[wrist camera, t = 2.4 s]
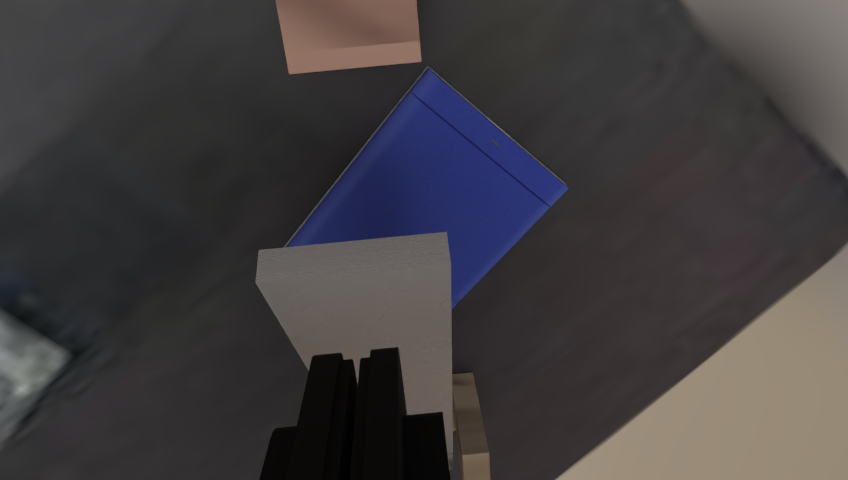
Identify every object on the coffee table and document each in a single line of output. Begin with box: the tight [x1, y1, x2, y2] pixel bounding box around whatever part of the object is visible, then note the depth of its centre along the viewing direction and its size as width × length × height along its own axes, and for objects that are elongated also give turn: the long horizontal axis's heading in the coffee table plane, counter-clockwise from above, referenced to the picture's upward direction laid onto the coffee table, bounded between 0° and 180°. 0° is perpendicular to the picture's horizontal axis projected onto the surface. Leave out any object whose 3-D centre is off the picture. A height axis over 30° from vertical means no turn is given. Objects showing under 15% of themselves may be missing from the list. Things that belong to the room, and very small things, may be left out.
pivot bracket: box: [452, 372, 490, 480], centre depth 27 cm, size 3×7×6 cm, turn 95°
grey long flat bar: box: [255, 232, 454, 470], centre depth 19 cm, size 19×4×1 cm, turn 5°
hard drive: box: [283, 66, 569, 310], centre depth 25 cm, size 2×8×12 cm
